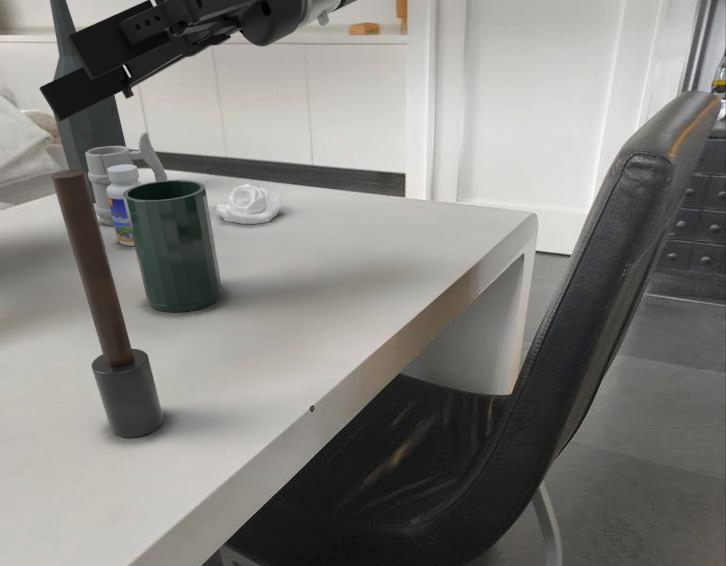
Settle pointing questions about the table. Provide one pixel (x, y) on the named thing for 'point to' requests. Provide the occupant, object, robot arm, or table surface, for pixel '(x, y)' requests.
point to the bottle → (91, 123)
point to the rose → (249, 205)
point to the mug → (111, 157)
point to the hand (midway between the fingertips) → (63, 84)
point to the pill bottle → (121, 199)
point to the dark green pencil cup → (174, 244)
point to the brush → (107, 317)
